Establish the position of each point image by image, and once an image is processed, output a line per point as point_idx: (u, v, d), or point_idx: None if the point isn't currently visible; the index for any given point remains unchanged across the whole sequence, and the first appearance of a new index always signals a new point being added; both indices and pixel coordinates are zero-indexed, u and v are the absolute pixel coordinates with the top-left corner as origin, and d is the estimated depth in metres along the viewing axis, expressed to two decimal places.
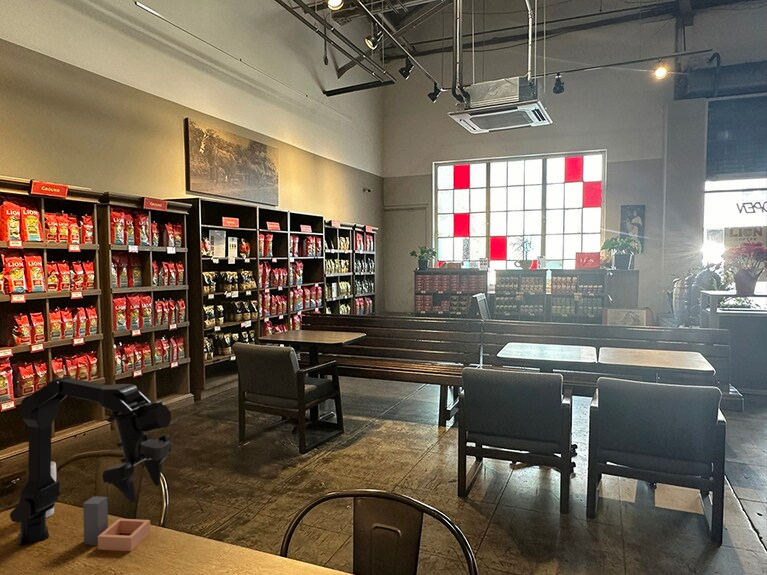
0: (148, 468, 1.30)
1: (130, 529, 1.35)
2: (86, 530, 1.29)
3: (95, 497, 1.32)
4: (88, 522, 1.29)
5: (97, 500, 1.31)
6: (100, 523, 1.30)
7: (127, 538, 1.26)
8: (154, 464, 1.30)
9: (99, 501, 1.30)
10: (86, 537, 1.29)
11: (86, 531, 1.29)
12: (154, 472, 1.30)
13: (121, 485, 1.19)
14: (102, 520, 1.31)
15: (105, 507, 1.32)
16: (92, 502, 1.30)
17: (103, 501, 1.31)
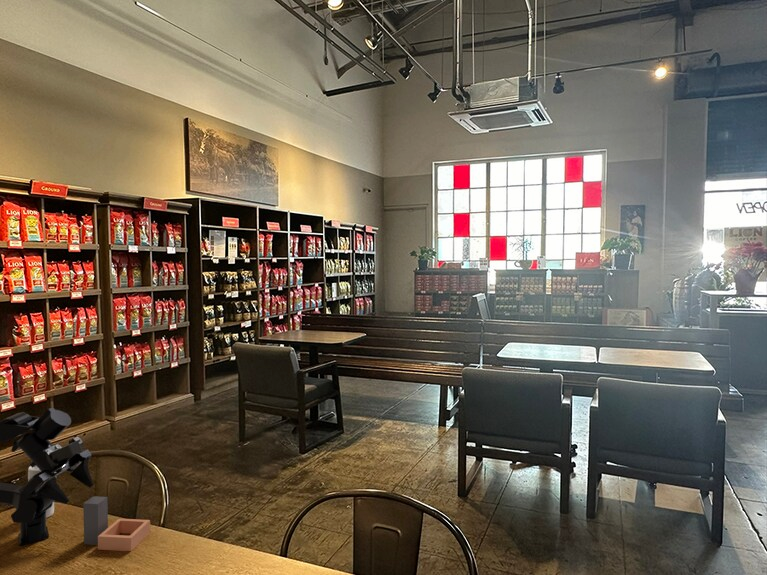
0: (76, 477, 1.36)
1: (130, 529, 1.35)
2: (86, 530, 1.29)
3: (95, 497, 1.32)
4: (88, 522, 1.29)
5: (97, 500, 1.31)
6: (100, 523, 1.30)
7: (127, 538, 1.26)
8: (80, 470, 1.36)
9: (99, 501, 1.30)
10: (86, 537, 1.29)
11: (86, 531, 1.29)
12: (83, 477, 1.35)
13: (48, 493, 1.25)
14: (102, 520, 1.31)
15: (105, 507, 1.32)
16: (92, 502, 1.30)
17: (103, 501, 1.31)
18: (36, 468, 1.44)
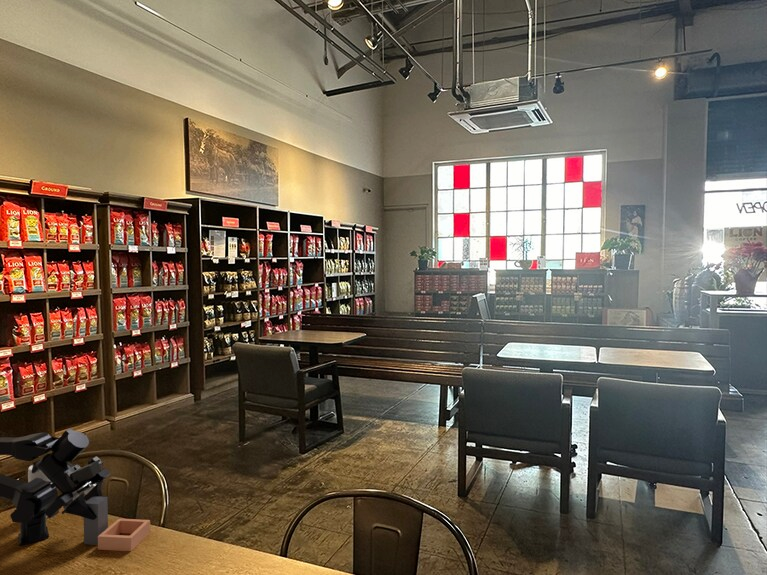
0: None
1: (130, 529, 1.35)
2: (86, 530, 1.29)
3: (95, 497, 1.32)
4: (88, 522, 1.29)
5: (97, 500, 1.31)
6: (100, 523, 1.30)
7: (127, 538, 1.26)
8: (93, 494, 1.33)
9: (99, 501, 1.30)
10: (86, 537, 1.29)
11: (86, 531, 1.29)
12: None
13: (76, 510, 1.27)
14: (102, 520, 1.31)
15: (105, 507, 1.32)
16: (92, 502, 1.30)
17: (103, 501, 1.31)
18: None
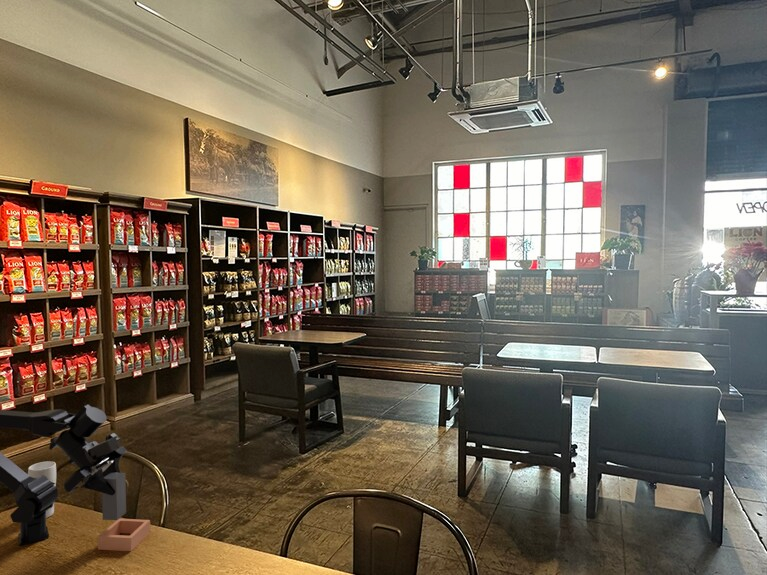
0: None
1: (130, 529, 1.35)
2: (105, 505, 1.29)
3: (113, 473, 1.32)
4: (106, 497, 1.29)
5: (115, 475, 1.30)
6: (118, 499, 1.29)
7: (127, 538, 1.26)
8: (111, 470, 1.33)
9: (118, 477, 1.29)
10: (104, 512, 1.29)
11: (104, 507, 1.29)
12: None
13: (94, 485, 1.27)
14: (121, 496, 1.30)
15: (123, 483, 1.31)
16: (110, 477, 1.29)
17: (121, 477, 1.31)
18: (36, 468, 1.44)
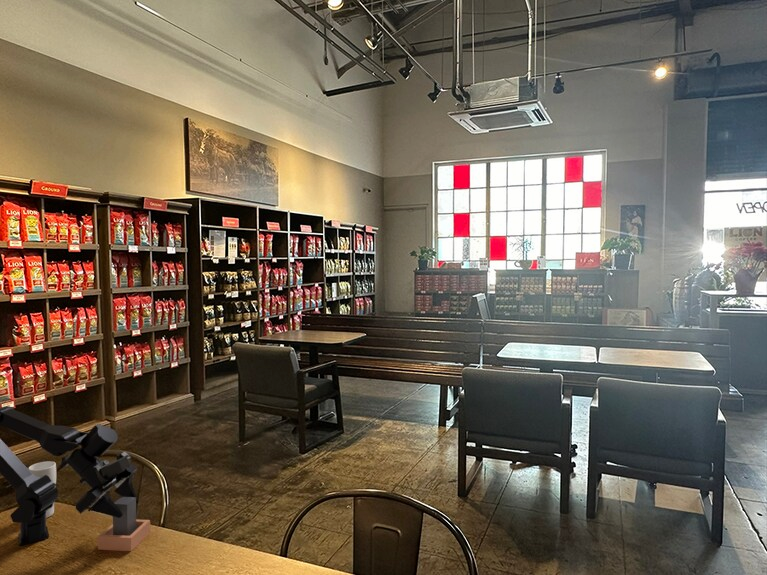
0: (121, 494, 1.35)
1: None
2: (116, 530, 1.29)
3: (124, 497, 1.32)
4: (117, 522, 1.29)
5: (126, 500, 1.31)
6: (129, 524, 1.30)
7: (127, 538, 1.26)
8: (124, 487, 1.35)
9: (129, 502, 1.30)
10: None
11: (115, 532, 1.29)
12: (128, 493, 1.34)
13: (102, 507, 1.26)
14: (131, 520, 1.31)
15: (134, 507, 1.32)
16: (121, 502, 1.29)
17: (132, 501, 1.31)
18: (36, 468, 1.44)
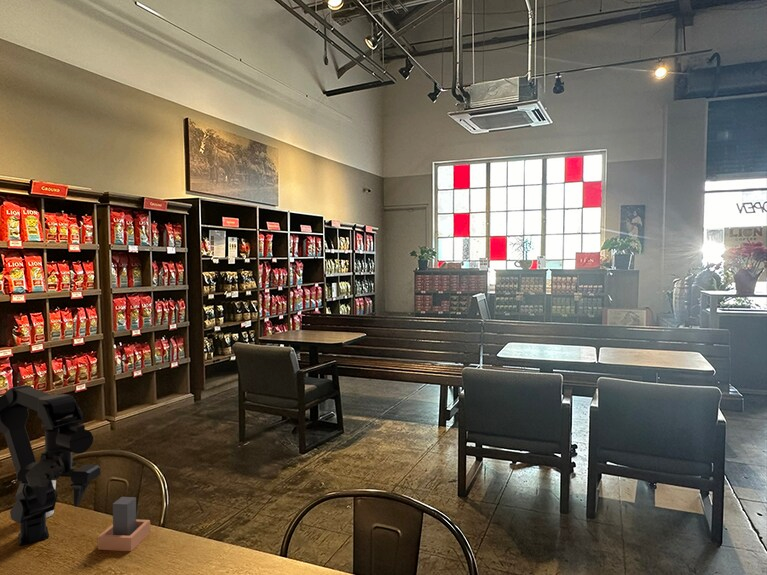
0: None
1: None
2: (116, 530, 1.29)
3: (124, 497, 1.32)
4: (117, 522, 1.29)
5: (126, 500, 1.31)
6: (129, 524, 1.30)
7: (127, 538, 1.26)
8: None
9: (129, 502, 1.30)
10: None
11: (115, 532, 1.29)
12: None
13: None
14: (131, 520, 1.31)
15: (134, 507, 1.32)
16: (121, 502, 1.29)
17: (132, 501, 1.31)
18: None
